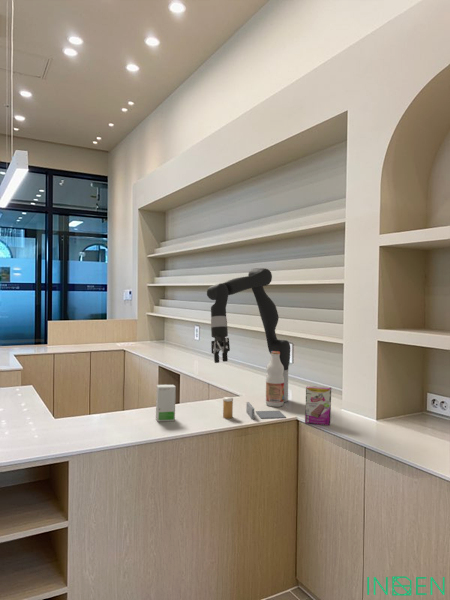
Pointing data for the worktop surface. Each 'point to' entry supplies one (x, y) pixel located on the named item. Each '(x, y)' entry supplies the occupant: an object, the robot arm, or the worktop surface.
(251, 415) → the smoky grey acrylic wall
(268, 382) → the fruit juice
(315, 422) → the candy bar box
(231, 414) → the amber medicine bottle
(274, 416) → the dark slate mat
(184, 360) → the worktop surface
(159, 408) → the skincare box
